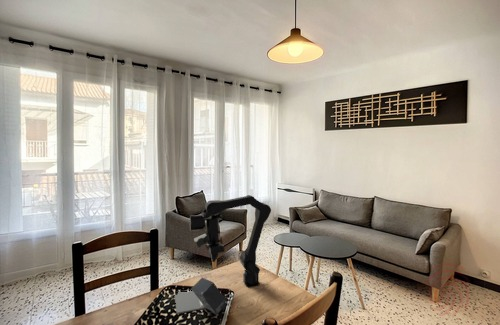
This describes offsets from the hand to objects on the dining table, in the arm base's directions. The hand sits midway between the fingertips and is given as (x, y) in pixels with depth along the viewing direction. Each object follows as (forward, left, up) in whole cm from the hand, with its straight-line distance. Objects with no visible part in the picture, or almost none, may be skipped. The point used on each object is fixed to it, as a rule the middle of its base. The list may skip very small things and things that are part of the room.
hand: (213, 261), depth 121 cm
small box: (+2, +18, -10) cm, 21 cm away
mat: (+12, +7, -13) cm, 19 cm away
